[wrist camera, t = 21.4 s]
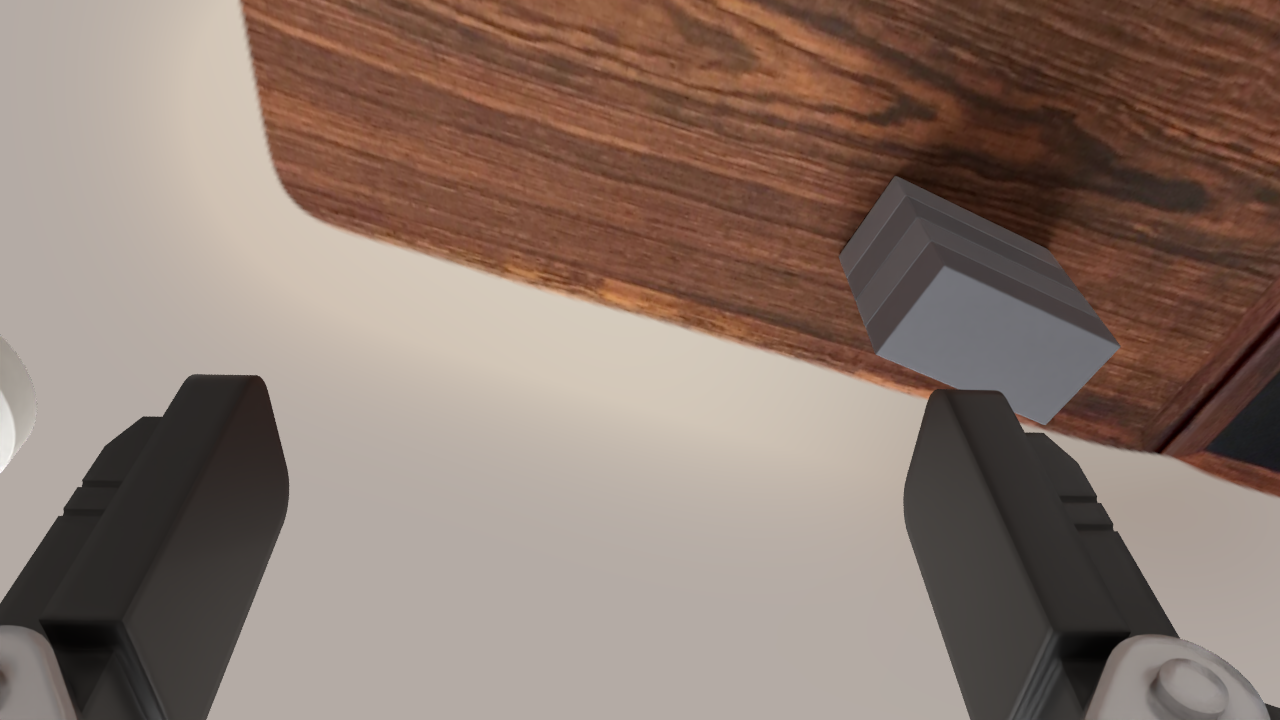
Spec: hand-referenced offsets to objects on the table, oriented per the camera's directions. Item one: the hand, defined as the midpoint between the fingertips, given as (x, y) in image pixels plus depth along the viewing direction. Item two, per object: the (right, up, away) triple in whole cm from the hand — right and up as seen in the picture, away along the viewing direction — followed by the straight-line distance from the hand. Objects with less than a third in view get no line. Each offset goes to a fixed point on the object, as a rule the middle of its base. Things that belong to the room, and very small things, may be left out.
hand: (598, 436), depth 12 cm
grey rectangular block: (+13, +5, +29) cm, 32 cm away
